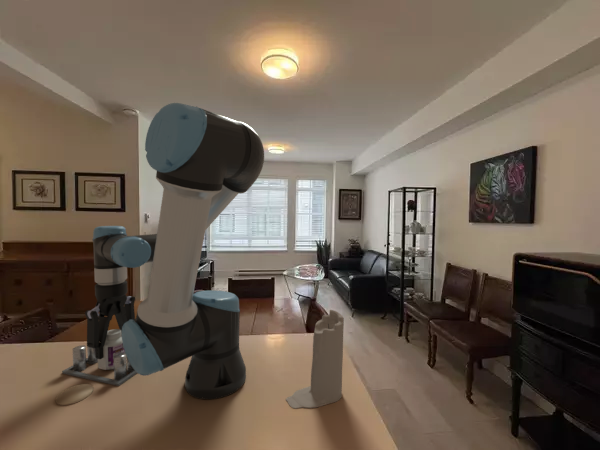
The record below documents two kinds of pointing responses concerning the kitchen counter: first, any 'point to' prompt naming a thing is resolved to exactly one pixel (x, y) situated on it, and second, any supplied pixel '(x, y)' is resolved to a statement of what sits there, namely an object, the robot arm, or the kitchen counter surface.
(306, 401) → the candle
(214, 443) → the kitchen counter surface
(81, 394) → the cork coaster
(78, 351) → the spacers
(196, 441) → the kitchen counter surface
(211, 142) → the robot arm
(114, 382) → the parts tray rim
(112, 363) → the pill bottle
